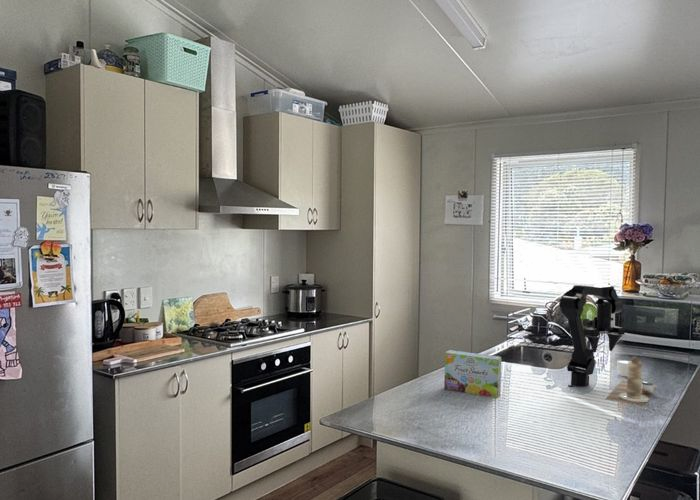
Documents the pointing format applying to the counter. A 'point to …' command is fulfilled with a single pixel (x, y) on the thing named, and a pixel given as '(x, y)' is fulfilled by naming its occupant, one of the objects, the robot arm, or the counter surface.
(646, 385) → the spice tin
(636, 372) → the pepper mill
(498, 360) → the snack box
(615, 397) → the serving board
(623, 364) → the white cup
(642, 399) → the white saucer
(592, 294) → the robot arm
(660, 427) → the counter surface
